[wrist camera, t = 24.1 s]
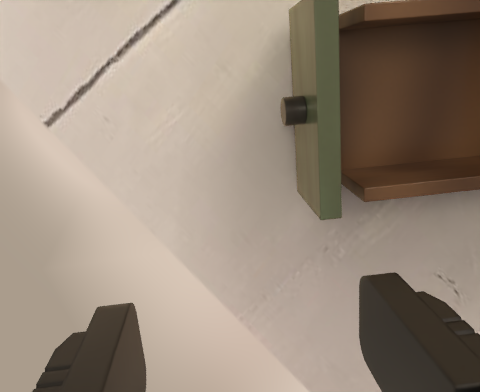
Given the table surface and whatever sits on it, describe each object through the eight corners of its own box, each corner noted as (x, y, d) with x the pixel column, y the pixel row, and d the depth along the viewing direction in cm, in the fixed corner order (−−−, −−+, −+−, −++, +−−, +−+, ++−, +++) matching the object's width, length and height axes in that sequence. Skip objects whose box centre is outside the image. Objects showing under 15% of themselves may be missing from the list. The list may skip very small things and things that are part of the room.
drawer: (279, 193, 28) (298, 223, 22) (268, 10, 25) (287, -8, 19) (501, 169, 29) (572, 192, 23) (519, -10, 26) (607, -33, 20)
